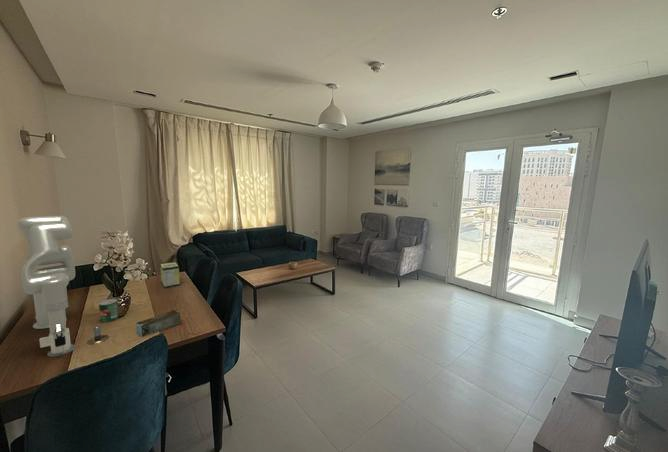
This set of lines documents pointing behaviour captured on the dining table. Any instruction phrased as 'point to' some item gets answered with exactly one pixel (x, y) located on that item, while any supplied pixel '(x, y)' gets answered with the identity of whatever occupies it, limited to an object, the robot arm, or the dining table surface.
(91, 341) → the post
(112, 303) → the canned tomato
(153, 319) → the beverage carton
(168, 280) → the protein box
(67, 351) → the coaster
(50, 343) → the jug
